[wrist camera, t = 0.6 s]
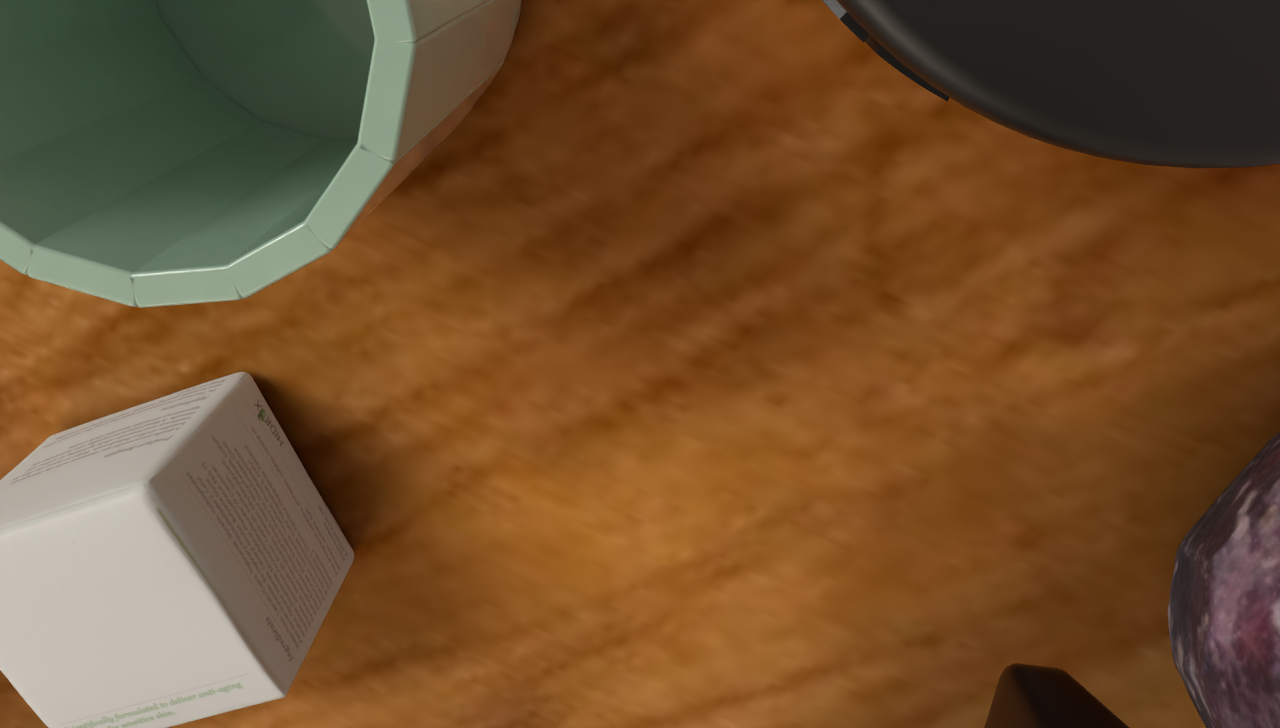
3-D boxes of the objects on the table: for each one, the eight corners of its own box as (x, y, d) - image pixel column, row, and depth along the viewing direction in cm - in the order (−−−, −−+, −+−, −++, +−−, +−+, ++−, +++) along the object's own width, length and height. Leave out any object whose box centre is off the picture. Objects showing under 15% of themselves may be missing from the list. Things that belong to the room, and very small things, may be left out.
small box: (173, 613, 26) (64, 763, 22) (45, 430, 24) (-106, 556, 19) (367, 558, 25) (293, 705, 20) (251, 360, 23) (141, 478, 18)
